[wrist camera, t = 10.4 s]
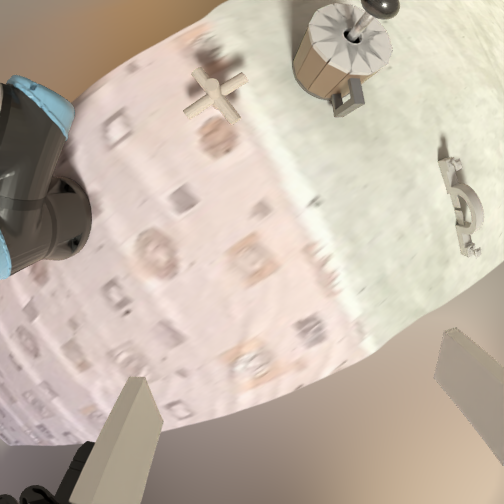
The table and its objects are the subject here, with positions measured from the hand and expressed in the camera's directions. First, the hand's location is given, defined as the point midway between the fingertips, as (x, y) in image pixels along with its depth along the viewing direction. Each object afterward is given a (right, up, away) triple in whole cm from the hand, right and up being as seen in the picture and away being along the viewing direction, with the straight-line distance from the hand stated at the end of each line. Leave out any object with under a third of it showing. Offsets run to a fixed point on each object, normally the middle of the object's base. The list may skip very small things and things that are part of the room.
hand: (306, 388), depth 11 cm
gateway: (+37, +14, +36) cm, 53 cm away
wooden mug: (+10, +34, +30) cm, 46 cm away
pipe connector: (-7, +29, +31) cm, 43 cm away
